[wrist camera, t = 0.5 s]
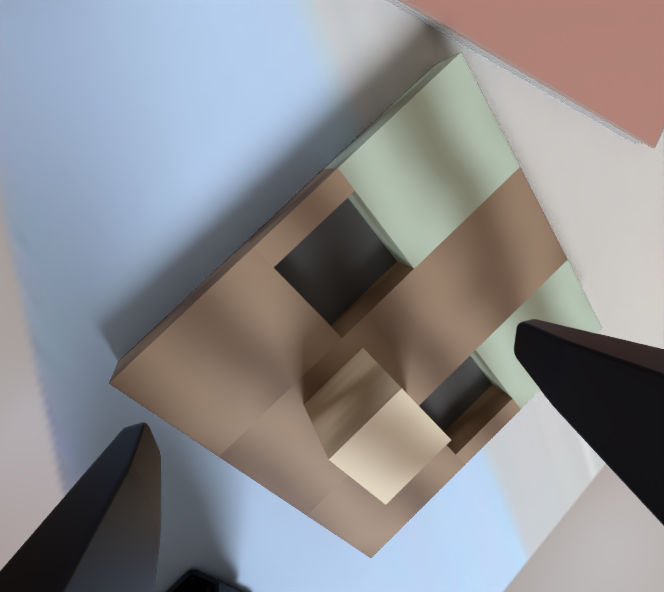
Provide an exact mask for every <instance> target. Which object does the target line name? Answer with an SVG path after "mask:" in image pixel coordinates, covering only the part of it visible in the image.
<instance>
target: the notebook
mask: <svg viewBox="0 0 664 592" xmlns="http://www.w3.org/2000/svg"><path fill="white" fill-rule="evenodd" d="M386 1H387V2H389V3H391V4H393V5H394V6H396V7H398V8H399V9H401V10H403V11H405V12H406V13H408V14H410V15H412V16H413V17H415V18H417V19H419V20H420V21H422V22H424V23H426V24H427V25H429V26H431V27H433V28H434V29H436V30H438V31H439V32H441V33H443V34H445V35H446V36H448V37H450V38H452V39H453V40H455V41H457V42H459V43H460V44H462V45H464V46H466V47H467V48H469V49H471V50H473V51H474V52H476V53H478V54H479V55H481V56H483V57H485V58H486V59H488V60H490V61H492V62H493V63H495V64H497V65H499V66H500V67H502V68H504V69H506V70H507V71H509V72H511V73H513V74H514V75H516V76H518V77H519V78H521V79H523V80H525V81H526V82H528V83H530V84H532V85H533V86H535V87H537V88H539V89H540V90H542V91H544V92H546V93H547V94H549V95H551V96H552V97H554V98H556V99H558V100H559V101H561V102H563V103H565V104H566V105H568V106H570V107H572V108H573V109H575V110H577V111H579V112H580V113H582V114H584V115H586V116H587V117H589V118H591V119H592V120H594V121H596V122H598V123H599V124H601V125H603V126H605V127H606V128H608V129H610V130H612V131H613V132H615V133H617V134H619V135H620V136H622V137H624V138H626V139H627V140H629V141H631V142H632V143H634V144H636V143H637V144H639V143H641V144H643V143H644V144H646V145H648V146H650V147H651V148H655V147H656V145H657V143H658V141H659V138H660V136H661V134H662V132H663V129H664V0H386Z"/></svg>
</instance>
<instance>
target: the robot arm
mask: <svg viewBox="0 0 664 592" xmlns="http://www.w3.org/2000/svg"><path fill="white" fill-rule="evenodd" d="M514 354H515V356H516V358H517V360H518V361H519V362H520V364H521V365H522V366H523V368H524V369H525V370H526V372H527V373H528V374H529V375H530V377H531V378H532V379H533V381H534V382H535V383H536V385H537V386H538V387H539V389H540V390H541V391H542V392H543V394H544V395H545V396H546V398H547V399H548V400H549V401H550V403H551V404H552V405H553V406H554V407H555V409H556V410H557V411H558V412H559V413H560V414H561V415H562V416H563V417H564V418H565V420H566V421H567V422H568V423H569V424H570V425H571V426H572V427H573V428H574V429H575V430H576V431H577V433H578V434H579V435H580V436H581V437H582V438H583V439H584V440H585V441H586V442H587V443H588V444H589V446H590V447H591V448H592V449H593V450H594V451H595V452H596V453H597V454H598V455H599V456H600V457H601V458H602V460H603V461H604V462H605V463H606V464H607V465H608V466H609V467H610V468H611V469H612V470H613V471H614V473H615V474H616V475H617V476H618V477H619V478H620V479H621V480H622V481H623V482H624V483H625V484H626V486H628V488H629V489H630V490H631V491H632V492H633V493H634V494H635V495H636V496H637V497H638V498H639V500H640V501H641V502H642V503H643V504H644V505H645V506H646V507H647V508H648V509H649V510H650V511H651V512H652V514H653V515H654V516H655V517H656V518H657V519H658V520H659V521H660V522H661V523H662V524H663V525H664V349H660V348H656V347H652V346H648V345H643V344H639V343H635V342H631V341H626V340H622V339H618V338H614V337H610V336H605V335H601V334H597V333H593V332H588V331H584V330H580V329H576V328H572V327H567V326H563V325H559V324H555V323H550V322H546V321H542V320H538V319H530V320H527V321H523V322H520V323H519V324H518V325H517V328H516V335H515V342H514ZM160 534H161V457H160V452H159V449H158V446H157V444H156V442H155V439H154V437H153V435H152V432H151V430H150V428H149V426H148V425H147V424H146V423H139V424H135V425H132V426H128V427H125V428H124V429H123V430H122V431H121V432H120V433H119V434H118V435H117V437H116V438H115V439H114V440H113V441H112V442H111V443H110V445H109V446H108V447H107V448H106V449H105V450H104V452H103V453H102V454H101V455H100V456H99V457H98V459H97V460H96V461H95V462H94V463H93V464H92V465H91V467H90V468H89V469H88V470H87V471H86V472H85V474H84V475H83V476H82V477H81V478H80V479H79V480H78V482H77V483H76V484H75V485H74V486H73V487H72V489H71V490H70V491H69V492H68V493H67V494H66V496H65V497H64V498H63V499H62V500H61V501H60V502H59V504H58V505H57V506H56V507H55V508H54V509H53V511H52V512H51V513H50V514H49V515H48V516H47V518H46V519H45V520H44V521H43V522H42V523H41V525H40V526H39V527H38V528H37V529H36V530H35V531H34V533H33V534H32V535H31V536H30V537H29V539H28V540H27V541H26V542H25V543H24V544H23V545H22V546H21V548H20V549H19V550H18V551H17V552H16V554H15V555H14V556H13V557H12V558H11V559H10V560H9V561H8V563H7V564H6V565H5V566H4V567H3V568H2V570H1V571H0V592H154V589H155V580H156V571H157V563H158V554H159V545H160ZM167 592H241V591H239V590H237V589H235V588H233V587H231V586H229V585H227V584H224V583H222V582H220V581H218V580H216V579H214V578H212V577H210V576H208V575H206V574H204V573H202V572H200V571H198V570H190V571H188V572H187V573H186V574H185V575H183V576H182V577H181V578H180V579H179V580H178V581H177V582H176V583H175V584H174V585H173V586H172V587H171V588H170V589H169V590H168V591H167Z"/></svg>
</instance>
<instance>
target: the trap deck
mask: <svg viewBox="0 0 664 592" xmlns="http://www.w3.org/2000/svg"><path fill="white" fill-rule="evenodd" d="M530 319H538V320H542V321H546V322H550V323H555V324H559V325H563V326H567V327H572V328H576V329H580V330H584V331H588V332H593V333H598V332H599V331H600V330H601V329H602V326H601V324H600V322H599V320H598V318H597V316H596V314H595V312H594V310H593V308H592V306H591V304H590V302H589V300H588V299H587V297H586V295H585V293H584V291H583V289H582V287H581V285H580V283H579V281H578V279H577V277H576V275H575V273H574V271H573V269H572V267H571V265H570V263H569V261H568V260H567V258H566V256H565V254H564V252H563V250H562V248H561V246H560V244H559V242H558V240H557V238H556V236H555V234H554V232H553V230H552V228H551V226H550V224H549V222H548V221H547V219H546V217H545V215H544V213H543V211H542V209H541V207H540V205H539V203H538V201H537V199H536V197H535V195H534V193H533V191H532V189H531V187H530V185H529V183H528V182H527V180H526V178H525V176H524V174H523V172H522V170H521V168H520V166H519V164H518V162H517V160H516V158H515V156H514V154H513V152H512V150H511V148H510V146H509V144H508V142H507V141H506V139H505V137H504V135H503V133H502V131H501V129H500V127H499V125H498V123H497V121H496V119H495V117H494V115H493V113H492V111H491V109H490V107H489V105H488V103H487V102H486V100H485V98H484V96H483V94H482V92H481V90H480V88H479V86H478V84H477V82H476V80H475V78H474V76H473V74H472V72H471V70H470V68H469V66H468V64H467V63H466V61H465V59H464V57H463V55H462V53H461V52H460V53H458V54H456V55H454V56H452V57H450V58H448V59H446V60H444V61H442V62H439V63H437V64H435V65H434V66H433V67H432V68H431V69H430V70H429V71H428V72H427V73H426V74H424V75H423V76H422V77H421V78H420V79H419V80H418V81H417V82H416V83H415V84H414V85H413V86H412V87H411V88H410V89H408V90H407V91H406V92H405V93H404V94H403V95H402V96H401V97H400V98H399V99H398V100H397V101H396V102H395V103H394V104H392V105H391V106H390V107H389V108H388V109H387V110H386V111H385V112H384V113H383V114H382V115H381V116H380V117H379V118H378V119H376V120H375V121H374V122H373V123H372V124H371V125H370V126H369V127H368V128H367V129H366V130H365V131H364V132H363V133H362V134H361V135H359V136H358V137H357V138H356V139H355V140H354V141H353V142H352V143H351V144H350V145H349V146H348V147H347V148H346V149H345V150H343V151H342V152H341V153H340V154H339V155H338V156H337V157H336V158H335V159H334V160H333V161H332V162H331V163H330V164H329V165H327V166H326V167H325V168H324V169H323V170H322V171H321V172H320V173H319V174H318V175H317V176H316V177H315V178H314V179H313V180H311V181H310V182H309V183H308V184H307V185H306V186H305V187H304V188H303V189H302V190H301V191H300V192H299V193H298V194H297V195H296V196H294V197H293V198H292V199H291V200H290V201H289V202H288V203H287V204H286V205H285V206H284V207H283V208H282V209H281V210H280V211H278V212H277V213H276V214H275V215H274V216H273V217H272V218H271V219H270V220H269V221H268V222H267V223H266V224H265V225H264V226H262V227H261V228H260V229H259V230H258V231H257V232H256V233H255V234H254V235H253V236H252V237H251V238H250V239H249V240H248V241H247V242H245V243H244V244H243V245H242V246H241V247H240V248H239V249H238V250H237V251H236V252H235V253H234V254H233V255H232V256H231V257H229V258H228V259H227V260H226V261H225V262H224V263H223V264H222V265H221V266H220V267H219V268H218V269H217V270H216V271H215V272H213V273H212V274H211V275H210V276H209V277H208V278H207V279H206V280H205V281H204V282H203V283H202V284H201V285H200V286H199V287H197V288H196V289H195V290H194V291H193V292H192V293H191V294H190V295H189V296H188V297H187V298H186V299H185V300H184V301H183V302H182V303H180V304H179V305H178V306H177V307H176V308H175V309H174V310H173V311H172V312H171V313H170V314H169V315H168V316H167V317H166V318H164V319H163V320H162V321H161V322H160V323H159V324H158V325H157V326H156V327H155V328H154V329H153V330H152V331H151V332H150V333H148V334H147V335H146V336H145V337H144V338H143V339H142V340H141V341H140V342H139V343H138V344H137V345H136V346H135V347H134V348H132V349H131V350H130V351H129V352H128V353H127V354H126V355H125V356H124V357H123V358H122V359H121V360H120V361H119V362H118V364H117V366H116V368H115V371H114V373H113V375H112V377H111V380H110V382H109V384H111V385H112V386H114V387H115V388H117V389H118V390H120V391H121V392H123V393H124V394H126V395H127V396H129V397H130V398H132V399H133V400H135V401H136V402H138V403H139V404H141V405H142V406H144V407H145V408H147V409H148V410H150V411H151V412H153V413H154V414H156V415H157V416H159V417H160V418H162V419H163V420H165V421H166V422H168V423H169V424H171V425H172V426H174V427H175V428H177V429H178V430H180V431H181V432H183V433H184V434H186V435H187V436H189V437H190V438H191V439H193V440H194V441H196V442H197V443H199V444H200V445H202V446H203V447H205V448H206V449H208V450H209V451H211V452H212V453H214V454H215V455H217V456H218V457H220V458H221V459H223V460H224V461H226V462H227V463H229V464H230V465H232V466H233V467H235V468H236V469H238V470H239V471H241V472H242V473H244V474H245V475H247V476H248V477H250V478H251V479H253V480H254V481H256V482H257V483H259V484H260V485H262V486H263V487H265V488H266V489H268V490H269V491H271V492H272V493H274V494H275V495H277V496H278V497H280V498H281V499H283V500H284V501H286V502H287V503H289V504H290V505H292V506H293V507H295V508H296V509H298V510H299V511H301V512H302V513H304V514H305V515H307V516H308V517H310V518H311V519H313V520H314V521H316V522H317V523H319V524H320V525H322V526H323V527H325V528H326V529H328V530H329V531H331V532H332V533H334V534H335V535H337V536H338V537H340V538H341V539H343V540H344V541H346V542H347V543H349V544H350V545H352V546H353V547H355V548H356V549H358V550H359V551H361V552H362V553H364V554H365V555H367V556H368V557H370V558H372V557H373V556H374V555H375V554H376V553H377V552H378V551H379V550H380V549H381V548H382V547H383V546H384V545H385V544H386V543H387V542H388V541H389V540H390V539H391V538H392V537H393V536H394V535H395V534H396V533H397V532H398V531H399V530H400V529H401V528H402V527H403V526H404V525H405V524H406V523H407V522H408V521H409V520H410V519H411V518H412V517H413V516H414V515H415V514H416V513H417V512H418V511H419V510H420V509H421V508H422V507H423V506H424V505H425V504H426V503H427V502H428V501H429V500H430V499H431V498H432V497H433V496H434V495H435V494H436V493H437V492H438V491H439V490H440V489H441V488H442V487H443V486H444V485H445V484H446V483H447V482H448V481H449V480H450V479H451V478H452V477H453V476H454V475H455V474H456V473H457V472H458V471H459V470H460V469H461V468H462V467H463V466H464V465H465V464H466V463H467V462H468V461H469V460H470V459H471V458H472V457H473V456H474V455H475V454H476V453H477V452H478V451H479V450H480V449H481V448H482V447H483V446H484V445H485V444H486V443H487V442H488V441H489V440H490V439H491V438H493V437H494V436H495V435H496V434H497V433H498V432H499V431H500V430H501V429H502V428H503V427H504V426H505V425H506V424H507V423H508V422H509V421H510V420H511V419H512V418H513V417H514V416H515V415H516V414H517V413H518V412H519V411H520V410H521V409H522V408H523V407H524V406H525V405H526V404H527V403H528V402H529V401H530V400H531V399H532V398H533V397H534V396H535V395H536V394H537V393H538V392H539V391H540V389H539V387H538V386H537V385H536V383H535V382H534V381H533V379H532V378H531V377H530V375H529V374H528V373H527V372H526V370H525V369H524V368H523V366H522V365H521V364H520V362H519V361H518V360H517V358H516V356H515V354H514V342H515V335H516V328H517V325H518V324H519V323H520V322H523V321H527V320H530ZM362 348H364V349H365V350H366V351H367V352H368V353H369V355H370V356H371V357H372V358H373V359H374V360H375V361H376V362H377V363H378V364H379V365H380V366H381V367H382V368H383V369H384V370H385V371H386V372H387V373H388V374H389V375H390V376H391V377H392V379H393V380H394V381H395V382H396V383H397V384H398V385H399V386H400V387H401V388H402V389H403V390H404V391H405V392H406V393H407V394H408V395H409V396H410V397H411V398H412V399H413V400H414V402H415V403H416V404H417V405H418V406H419V407H420V408H421V409H422V410H423V411H424V412H425V413H426V414H427V415H428V416H429V417H430V418H431V419H432V420H433V421H434V422H435V424H436V425H437V426H438V427H439V428H440V429H441V430H442V431H443V432H444V433H445V434H446V435H447V436H448V437H449V438H450V439H451V441H450V442H449V443H448V444H447V445H446V446H445V447H444V448H443V449H442V450H441V451H440V452H439V453H438V454H437V455H436V456H435V457H434V458H433V459H432V460H431V461H430V462H429V463H428V464H427V465H426V466H425V467H424V468H423V469H422V470H421V471H420V472H419V473H417V474H416V475H415V476H414V477H413V478H412V479H411V480H410V481H409V482H408V483H407V484H406V485H405V486H404V487H403V488H402V489H401V490H400V491H399V492H398V493H397V494H396V495H395V496H394V497H393V498H392V499H391V500H390V501H389V502H388V503H387V504H386V505H385V504H384V503H383V502H382V501H380V500H379V499H378V498H377V497H375V496H374V495H373V494H371V493H370V492H369V491H368V490H366V489H365V488H364V487H363V486H361V485H360V484H359V483H358V482H356V481H355V480H354V479H352V478H351V477H350V476H349V475H347V474H346V473H345V472H344V471H342V470H341V469H340V468H339V467H337V466H336V465H335V464H333V463H332V462H331V461H330V460H329V459H328V457H327V455H326V453H325V451H324V448H323V446H322V444H321V442H320V440H319V438H318V435H317V433H316V431H315V429H314V427H313V424H312V422H311V420H310V418H309V416H308V414H307V411H306V409H305V407H304V404H305V403H306V402H307V401H308V400H309V399H310V398H311V397H312V396H313V395H314V394H315V393H317V392H318V391H319V390H320V389H321V388H322V387H323V386H324V385H325V384H326V383H327V382H328V381H329V380H330V379H331V378H332V377H333V376H334V375H335V374H336V373H337V372H338V371H339V370H340V369H341V368H342V367H343V366H344V365H345V364H347V363H348V362H349V361H350V360H351V359H352V358H353V357H354V356H355V355H356V354H357V353H358V352H359V351H360V350H361V349H362Z"/></svg>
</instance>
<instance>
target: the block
mask: <svg viewBox="0 0 664 592" xmlns="http://www.w3.org/2000/svg"><path fill="white" fill-rule="evenodd" d="M304 407H305V409H306V411H307V414H308V416H309V418H310V420H311V422H312V424H313V427H314V429H315V431H316V433H317V435H318V438H319V440H320V442H321V444H322V446H323V448H324V451H325V453H326V455H327V457H328V459H329V460H330V461H331V462H332V463H333V464H335V465H336V466H337V467H339V468H340V469H341V470H342V471H344V472H345V473H346V474H347V475H349V476H350V477H351V478H352V479H354V480H355V481H356V482H358V483H359V484H360V485H361V486H363V487H364V488H365V489H366V490H368V491H369V492H370V493H371V494H373V495H374V496H375V497H377V498H378V499H379V500H380V501H382V502H383V503H384V504H385V505H386V504H387V503H388V502H389V501H390V500H391V499H392V498H393V497H394V496H395V495H396V494H397V493H398V492H399V491H400V490H401V489H402V488H403V487H404V486H405V485H406V484H407V483H408V482H409V481H410V480H411V479H412V478H413V477H414V476H415V475H416V474H417V473H419V472H420V471H421V470H422V469H423V468H424V467H425V466H426V465H427V464H428V463H429V462H430V461H431V460H432V459H433V458H434V457H435V456H436V455H437V454H438V453H439V452H440V451H441V450H442V449H443V448H444V447H445V446H446V445H447V444H448V443H449V442H450V441H451V439H450V438H449V437H448V436H447V435H446V434H445V433H444V432H443V431H442V430H441V429H440V428H439V427H438V426H437V425H436V424H435V422H434V421H433V420H432V419H431V418H430V417H429V416H428V415H427V414H426V413H425V412H424V411H423V410H422V409H421V408H420V407H419V406H418V405H417V404H416V403H415V402H414V400H413V399H412V398H411V397H410V396H409V395H408V394H407V393H406V392H405V391H404V390H403V389H402V388H401V387H400V386H399V385H398V384H397V383H396V382H395V381H394V380H393V379H392V377H391V376H390V375H389V374H388V373H387V372H386V371H385V370H384V369H383V368H382V367H381V366H380V365H379V364H378V363H377V362H376V361H375V360H374V359H373V358H372V357H371V356H370V355H369V353H368V352H367V351H366V350H365V349H364V348H362V349H361V350H360V351H359V352H358V353H357V354H356V355H355V356H354V357H353V358H352V359H351V360H350V361H349V362H348V363H347V364H345V365H344V366H343V367H342V368H341V369H340V370H339V371H338V372H337V373H336V374H335V375H334V376H333V377H332V378H331V379H330V380H329V381H328V382H327V383H326V384H325V385H324V386H323V387H322V388H321V389H320V390H319V391H318V392H317V393H315V394H314V395H313V396H312V397H311V398H310V399H309V400H308V401H307V402H306V403H305V404H304Z"/></svg>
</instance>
